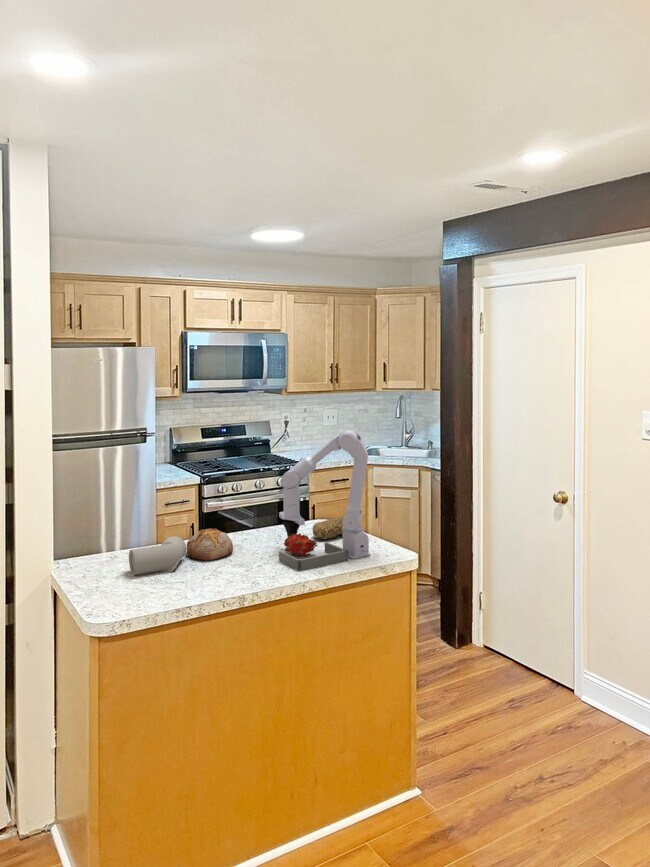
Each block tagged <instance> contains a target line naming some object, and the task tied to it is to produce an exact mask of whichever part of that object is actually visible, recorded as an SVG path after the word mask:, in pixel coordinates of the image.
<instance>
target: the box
mask: <svg viewBox="0 0 650 867" xmlns="http://www.w3.org/2000/svg"><path fill="white" fill-rule="evenodd" d="M324 552H325V553H326V554H320V555H315V556H312V557H307V558H301V559H299V558H297V557H296V556H294V555H293V556H292V554H291V555H290V554H288V552H287V553H286V552H285V551H282V550H279V551H278V562H279V563H281V564H283V565H285V566H288V567H290V568H292V569H293V570H296V571H298V572H302V571H306V570H311V568H312V569H316V568H319V567H326V566H329V565H334V564H337V563H338V564H339V563H343V562H349V557H348V550H345V549H343V547H340V546H337V545H335V544H333V543H330V542H329V541H328V542H327V541H326V542H325V541H324Z"/></svg>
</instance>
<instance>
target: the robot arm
mask: <svg viewBox="0 0 650 867" xmlns="http://www.w3.org/2000/svg"><path fill="white" fill-rule="evenodd" d="M341 449H342V450H343V451H345V452H346V453H347V454H349V455H350V457H351V458H352V459H353V465H352V473H351V481H350V486H349V487H350V488H349V494H348V502H347V507H346V510H345V514H344V516H342V517H343V520H342V525H343V534H342V548H343V549H345V550H348V558H350V559H354V560H355V559H358V558H364V557H366V556H367V557H368V556H371V555H372V554H371V553H370V552H369V551H370V550H369V546H370V545H369V542H370V541H369V536H368V535H367V533H365V531H364V527H363V526H362V524H361V523H362V521H363V518H364V515H363V512H362V507H363V504H362V502H363V497H364V496H363V495H364V489H365V488H364V487H365V481H366V473H367V467H368V459H369V453H368V450H367V448H366V445H365V443H364V442H363V438H362V436H361V435H360V434H359V433H358V432H357V431H356V430H354V429H352V428H349V429H345V430H344V431H343V432H342V433H339V434H337V435H336V436H335V437H333V438H331V439H330V440H329V441H327V443H325V444H324V445H323V446H322V447H321V448H319V449H318V450H317V451H316V452H315V453H314V454H313V455H312V456H308V455H307V456H301V457H300V458H299V461H298V462H297V463H296V464H295V465H293V466H290V467H289V470H288V471H285V472H284V474H283V475H282V477H281V483H282V485H283V491H282V492H283V495H282V496H283V511H280V512H278V516H279V518H280V519H281V520H283V521H282V525H283V527H284V529H285V532H286V535H287V537H288V536H291V534H297V535H298V530H299V528H300V527H301V526H305V525H306V521H305V519H304V518H303V517H302V516H301V515H300V511H301V510H300V484H299V483H300V482H301V481H303V480H304V479H305V478H306V477H308V476H309V475H310V474H311V473H313V472H314V471H315V470H317V464H318V463H320V461H321V460H324V458H325V457H326V456H328V455H329V454H330V453H332V452H333V451H340V450H341ZM284 520H285V521H284Z"/></svg>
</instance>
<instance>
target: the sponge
mask: <svg viewBox="0 0 650 867" xmlns="http://www.w3.org/2000/svg"><path fill="white" fill-rule="evenodd" d="M343 517H344V516H339V517H338V516H337V517H334V518H330V519H327V520H324V521H318V522H316V523H314V524H313V525H312V535H313V536H314V537H315V538H317V539H321V540H322V539H323V540H330V539H333V538H335V537H337V536H339V535H343V525H342V520H343Z"/></svg>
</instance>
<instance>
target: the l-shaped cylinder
mask: <svg viewBox="0 0 650 867" xmlns="http://www.w3.org/2000/svg"><path fill="white" fill-rule="evenodd" d="M186 553H187V543H186V542H185V540H184V539H182V538H181V537H180V536H176V535H173V536H169V537H167V538H166V539H165V540H164V541H163V542H162V543H161V544H160V545H159V544H158V545H152V546H145V547H140V548H133V549H130V550H129V552H128V563H129V564H128V565H129V570H130V573H131V574H132V576H139V575H145V574H151V573H157V572H165V573H171V572H173V571H174V570H175V569H176V568H177V566H178V565H179V564H180V562H181V560H182V559H183V557H184V555H186Z"/></svg>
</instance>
